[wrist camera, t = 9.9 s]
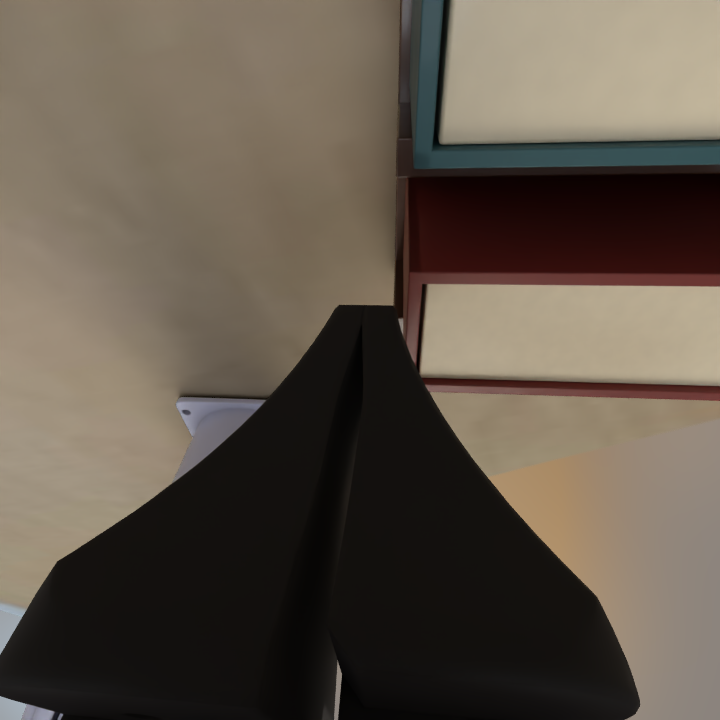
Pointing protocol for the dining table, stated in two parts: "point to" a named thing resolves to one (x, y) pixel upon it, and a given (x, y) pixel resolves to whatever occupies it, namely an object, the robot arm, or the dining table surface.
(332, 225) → the dining table surface
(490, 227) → the oxblood book
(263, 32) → the dining table surface
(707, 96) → the teal book
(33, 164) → the dining table surface
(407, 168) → the book rack
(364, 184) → the dining table surface
